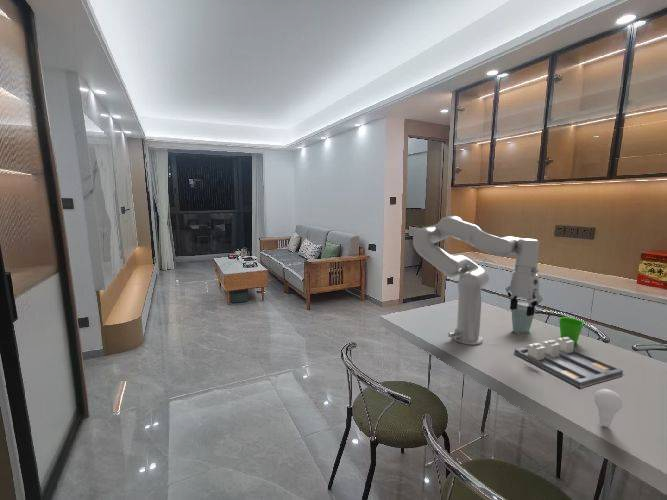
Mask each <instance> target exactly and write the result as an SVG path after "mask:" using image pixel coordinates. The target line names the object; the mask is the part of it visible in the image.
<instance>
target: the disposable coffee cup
mask: <svg viewBox="0 0 667 500" xmlns="http://www.w3.org/2000/svg"><path fill="white" fill-rule="evenodd" d="M517 300H518V299H517ZM527 306H529V304H528V301H527V300H526V301H524V300H518V303H517V309H514V310H511V323H512V331H513V333H515V334H516V335H517V334H524V333H525V334H526V333H529V332H530V329H531V326H532V323H533V320H534V316H535V314H536V310H537V305H536V306H535V309H534V315H532V316H527V315H526V314H527Z"/></svg>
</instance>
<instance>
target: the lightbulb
mask: <svg viewBox="0 0 667 500" xmlns="http://www.w3.org/2000/svg"><path fill="white" fill-rule="evenodd" d="M593 398H594V403H595V405H596V406H597V409H598V416H599V418H598V419H599V420H598V423H599V425H601V426H602V427H603V428H610V427H611V425H612V421H613V419H614V417H615V415H616V414H617V413H618V412H620V410H622V408H623V400H622V397H621V396H620V395H619V394H618V393H617V392H615V391H614V390H612V389H610V388H609V389H608V388H601V389H599V390H597V391H596V392H595V393H594V397H593Z"/></svg>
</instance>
